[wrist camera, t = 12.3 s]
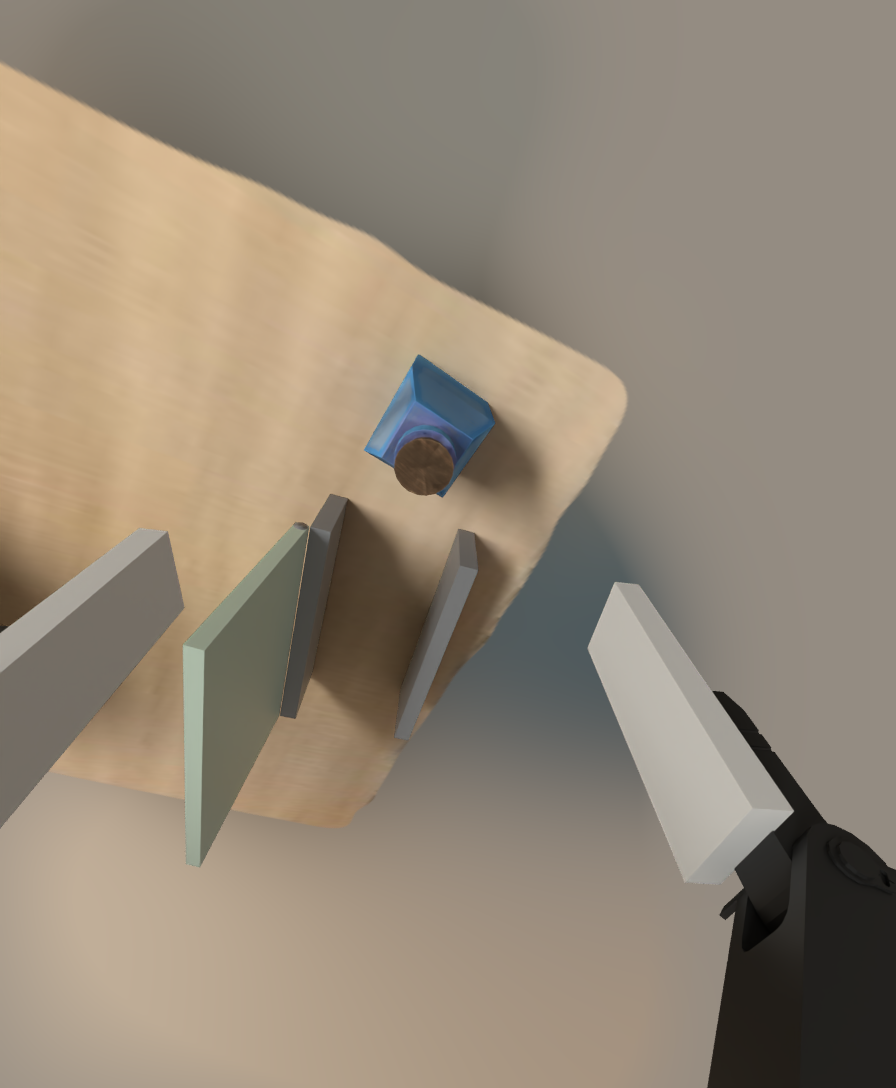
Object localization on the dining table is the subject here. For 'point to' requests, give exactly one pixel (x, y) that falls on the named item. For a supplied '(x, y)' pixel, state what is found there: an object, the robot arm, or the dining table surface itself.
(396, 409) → the perfume bottle
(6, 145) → the dining table surface
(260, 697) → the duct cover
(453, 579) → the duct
